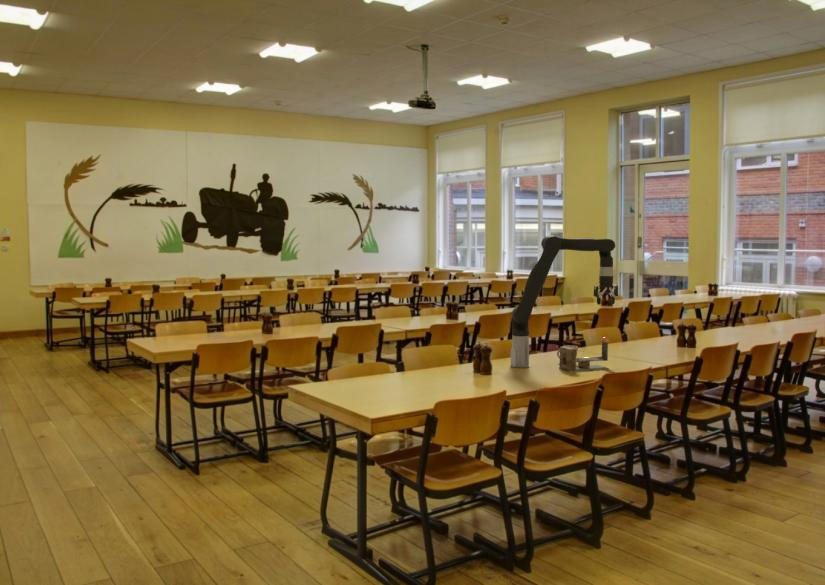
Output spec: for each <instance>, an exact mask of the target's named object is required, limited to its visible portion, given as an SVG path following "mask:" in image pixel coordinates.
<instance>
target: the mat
mask: <svg viewBox="0 0 825 585" xmlns="http://www.w3.org/2000/svg"><path fill="white" fill-rule="evenodd" d="M558 369H560V366H559V367H558ZM562 369H563V368H562ZM562 369H560V370H562ZM602 370H603V371H604V370H606V371H607V370H610V368H609V367H606V366H603V365H599V364H590V368H587V369H582V368H579V367H578V365H576V370H572V371H569V373H572V372H573V373H574V372H588V371H602ZM566 372H568V371H567V370H566Z"/></svg>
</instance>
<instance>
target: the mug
mask: <svg viewBox="0 0 825 585" xmlns="http://www.w3.org/2000/svg"><path fill="white" fill-rule="evenodd" d="M564 346H567V347H571V348H574V349H576V358H578V357H577V356H578V350H579V349H578V348H579V346H578V345H573V344H571V345H569V344H567V345H566V344H565V345H562V347H564ZM556 356H557V358H558V359H559V360H560V348H559V349H557V351H556Z"/></svg>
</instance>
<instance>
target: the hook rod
mask: <svg viewBox="0 0 825 585" xmlns="http://www.w3.org/2000/svg"><path fill="white" fill-rule="evenodd" d="M609 340H610V339H609V337H607V336H603V337H601V341H600V342H601V356H586V357H576V363H578V362H582V360H590V363H591V362H601V361H602V362H605V361H608V360H609V359H608V358H609V353H608V352H609Z"/></svg>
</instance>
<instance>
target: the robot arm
mask: <svg viewBox="0 0 825 585" xmlns="http://www.w3.org/2000/svg"><path fill="white" fill-rule="evenodd" d="M540 243H541V245H540V246H541V247H542V249H543V250H542V253H541V255H540V258H539V259H538V261H537V262H536V263H535V265H534V266H533V267H532V269H531V271H530V272H529V275H528V277H527V280H526V282H525V285H524V290H523V294H522V297H521V300H520V302H519V304H518V306H516V307H514V308H513V309H512V312H511V333H512V334H511V338H512V339H511V341H512V342H511V343H512V344H511V346H512V347H511V349H510V366H511V367H514V368H519V369H520V368H529V366H530V328H529V320H530V318H531V315H532V311H533V309H534V305H535V303H536V301H537V299H538V297H539V295H540V293H541V291H542V289H543V286H544V285H545V283H546V280H547V277H548V276H549V273H550V270H551V268H552V265H553V263H554V261H555V258H556V256H557V255H558V254H559V252H560V251H562V250H563V251H564V250H566V251H578V252H598V254H599V270H598V271H599V273H598V276H599V277H598V282H599V284H598V285H594V287H593V297H595V298H596V304H597V305H599V306H601V305H602V302H601V301H602V298H601V297H602V296H603V295H604V294H609V295H610V305H614V304H615V303H616V302H615V300H616V297H618V296H619V286H618V285H616V284H614V258H613V256H612V253H611V252H612V251H614V249H615V248H616V242H615V241H614V240H613V239H611V238H602V239H601V238H598V239H597V238H590V237H589V238H588V237H587V238H586V237H585V238H582V237H581V238H579V237H578V238H565V237H564V238H562V237H558V236H557V235H552V234H551V235H546V236H545V237H543V238H542V240H541V242H540ZM613 284H614V285H613Z"/></svg>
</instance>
